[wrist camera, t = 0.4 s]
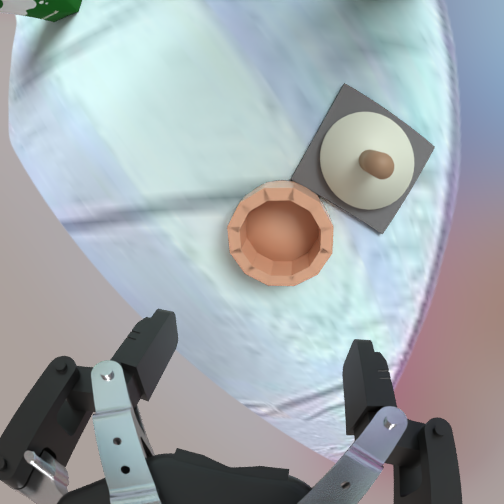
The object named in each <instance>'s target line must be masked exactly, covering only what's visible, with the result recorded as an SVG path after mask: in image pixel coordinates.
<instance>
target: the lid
mask: <svg viewBox="0 0 504 504" xmlns="http://www.w3.org/2000/svg"><path fill="white" fill-rule="evenodd" d="M320 165H321V170H322V173H323V176H324V178H325V180H326V182H327V184H328V186H329V187H330V189H331V190H332V191H333V193H334V194H335V195H336V196H337V197H338V198H340V199H341V200H342V201H344V202H345V203H347V204H349V205H351V206H353V207H356V208H360V209H368V210H370V209H379V208H383V207H386V206H388V205H390V204H392V203H393V202H395V201H396V200H397V199H399V198H400V197H401V196H402V195H403V194H404V192H405V191H406V189H407V188H408V186H409V184H410V182H411V179H412V176H413V172H414V154H413V150H412V146H411V144H410V141H409V139H408V137H407V136H406V134H405V133H404V131H403V130H402V129H401V128H400V127H399V126H398V125H397V124H396V123H395V122H394V121H392V120H391V119H389V118H388V117H386V116H383V115H381V114H378V113H374V112H356V113H353V114H349V115H347V116H345V117H343V118H341V119H340V120H338V121H337V122H336V123H335V124H333V125H332V127H331V128H330V129H329V130H328V132H327V133H326V135H325V137H324V139H323V142H322V145H321V151H320Z"/></svg>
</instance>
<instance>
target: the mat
mask: <svg viewBox="0 0 504 504" xmlns="http://www.w3.org/2000/svg"><path fill="white" fill-rule="evenodd" d="M356 112H374V113H378V114H381V115H383V116H386V117H388V118H389V119H391V120H392V121H394V122H395V123H396V124H397V125H398V126H399V127H400V128H401V129H402V130H403V131H404V133H405V134H406V136H407V137H408V139H409V141H410V144H411V146H412V150H413V154H414V172H413V176H412V179H411V182H410V184H409V186H408V188H407V189H406V191H405V192H404V194H403V195H402V196H401V197H400V198H399V199H397V200H396V201H395V202H393V203H392V204H390V205H388V206H386V207H383V208H379V209H370V210H368V209H360V208H356V207H353V206H351V205H349V204H347V203H345V202H344V201H342V200H341V199H340V198H338V197H337V196H336V195H335V194H334V193H333V191H332V190H331V189H330V187H329V186H328V184H327V182H326V180H325V178H324V176H323V173H322V170H321V165H320V151H321V145H322V142H323V139H324V137H325V135H326V133H327V132H328V130H329V129H330V128H331V127H332V125H333V124H335V123H336V122H337V121H338V120H340V119H341V118H343V117H345V116H347V115H349V114H353V113H356ZM434 148H435V147H434V146H433V145H432V144H431V143H430V142H428V141H427V140H426V139H425V138H424V137H422V136H421V135H420V134H419V133H417V132H416V131H415V130H414V129H412V128H411V127H410V126H408V125H407V124H406V123H404V122H403V121H402V120H400V119H399V118H398V117H396V116H395V115H393V114H392V113H391V112H389V111H388V110H386V109H385V108H383V107H382V106H380V105H379V104H377V103H376V102H374V101H373V100H371V99H370V98H368V97H367V96H365V95H363V94H362V93H360V92H359V91H357V90H355V89H354V88H352V87H350V86H349V85H347V84H345V83H344V85H343V86H342V88H341V90H340V92H339V94H338V95H337V97H336V99H335V101H334V103H333V104H332V106H331V108H330V110H329V112H328V113H327V115H326V117H325V119H324V121H323V122H322V124H321V126H320V128H319V130H318V131H317V133H316V135H315V137H314V139H313V140H312V142H311V144H310V146H309V147H308V149H307V151H306V153H305V155H304V156H303V158H302V160H301V162H300V164H299V165H298V167H297V169H296V171H295V173H294V174H293V176H292V178H291V180H293V181H295V182H297V183H299V184H300V185H302V186H304V187H306V188H308V189H309V190H311V191H313V192H315V193H316V194H318V195H320V196H322V197H323V198H325V199H327V200H328V201H330V202H332V203H333V204H335V205H337V206H338V207H340V208H342V209H343V210H345V211H347V212H348V213H350V214H352V215H353V216H355V217H356V218H358V219H360V220H361V221H363V222H364V223H366V224H368V225H369V226H371V227H372V228H374V229H375V230H377V231H378V232H380V233H381V234H383V233H384V231H385V230H386V228H387V227H388V225H389V224H390V222H391V221H392V219H393V218H394V216H395V215H396V213H397V211H398V210H399V208H400V207H401V205H402V203H403V202H404V200H405V199H406V197H407V195H408V194H409V192H410V190H411V189H412V187H413V185H414V184H415V182H416V180H417V178H418V177H419V175H420V173H421V171H422V170H423V168H424V166H425V164H426V163H427V161H428V159H429V157H430V155H431V153H432V152H433V150H434Z"/></svg>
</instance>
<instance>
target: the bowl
mask: <svg viewBox="0 0 504 504" xmlns="http://www.w3.org/2000/svg"><path fill="white" fill-rule="evenodd" d="M227 229H228V239H229V249H230V254H231V255H232V256H233V258H234V259H235V261H236V262H237V263H238V265H239V266H240V268H241V269H242V270H243V272H244V273H245V274H247V275H248V276H250V277H252V278H254V279H256V280H258V281H260V282H262V283H264V284H266V285H268V286H295V285H297V284H299V283H301V282H303V281H305V280H307V279H310V278H312V277H314V276H316V275H318V273H319V272H320V270H321V269H322V267H323V266H324V264H325V263H326V262H327V260H328V259H329V257H330V256H331V254H332V246H333V224H332V222H331V219H330V216H329V214H328V213H327V211H326V209H325V207H324V205H323V203H322V202H321V200H320V199H319V197H318V195H317V194H315V193H314V192H312V191H311V190H309V189H308V188H306V187H304V186H302V185H300V184H299V183H296V182H294V181H285V180H278V181H272V182H266V183H265V184H262V185H260V186H259V187H257V188H255V189H254V190H253V191H252V192H250V193H248V194H247V195H245V197H244V198H243V199H242V200H241V202H240V203H239V205H238V207H237V209H236V211H235V213H234V215H233V217H232V219H231V221H230V223H229V225H228V227H227Z"/></svg>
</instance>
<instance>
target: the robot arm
mask: <svg viewBox="0 0 504 504" xmlns="http://www.w3.org/2000/svg"><path fill="white" fill-rule="evenodd" d="M177 343H178V333H177V325H176V317H175V313H174V312H171V311H167V310H162V309H157V310H156V312H155V313H154V314H153V316H152V317H151V318H148V317H146V318H144V319H143V320H141V321H140V322H138V323H137V324H136V325H135V327H134V328H133V329H132V332H130V334H129V335H128V337H127V338H126V339H125V340H124V342H123V343H122V345H121V346H120V347H119V349H118V350H117V351H116V353H115V354H114V356H113V357H112V359H111V360H107V361H102V362H100V363H98V364H96V366H94V367H82V366H76V364H75V362H74V360H73V359H72V358H70V357H67V356H61V357H57V358H55V359H54V360H53V361H52V362H51V363H50V364H49V365H48V367H47V368H46V370H45V371H44V372H43V374H42V375H41V376H40V378H39V379H38V381H37V382H36V383H35V385H34V386H33V388H32V389H31V391H30V392H29V393H28V395H27V396H26V398H25V399H24V401H23V402H22V404H21V405H20V407H19V408H18V410H17V411H16V413H15V415H14V416H13V418H12V419H11V421H10V423H9V424H8V426H7V427H6V429H5V431H4V432H3V434H2V436H1V438H0V480H1V481H3V482H4V483H5V484H7V485H8V486H9V487H10V488H12V489H14V490H16V491H17V492H19V493H20V494H22V495H24V496H26V497H28V498H29V499H31V500H32V501H33V502H35V503H36V504H357V503H358V502H359V501H360V500H361V498H362V497H363V496H364V495H365V494H366V492H367V491H368V490H369V488H370V487H371V485H372V484H373V483H374V482H375V480H376V479H377V478H378V476H379V475H380V473H381V472H382V470H383V468H384V467H383V464H384V463H387V464H392V465H393V466H394V504H462V493H461V483H460V474H459V466H458V460H457V454H456V448H455V443H454V438H453V432H452V428H451V426H450V424H449V423H448V422H447V421H446V420H444V419H442V418H433V419H431V420H429V421H428V422H427V423H426V424H424V423H420V422H415V421H411V420H409V419H407V417H406V415H405V414H404V412H403V411H402V410H400V409H399V408H397V405H396V400H395V395H394V391H393V386H392V382H391V379H390V373H389V372H388V371H389V369H388V365H387V361H386V360H385V358H384V357H383V356H382V354H381V353H380V352H374V349H373V345H372V342H371V340H359V339H355V340H354V341H353V343H352V345H351V348H350V350H349V353H348V355H347V357H346V360H345V362H344V366H343V387H344V400H345V416H346V435H354V436H355V442H354V443H353V444H352V445H351V446H350V448H349V449H348V450H347V451H346V452H345V454H344V455H343V456H342V457H341V458H340V459H339V460H338V462H337V463H336V464H335V465H334V466H333V467H332V468H331V469H330V470H329V471H328V472H327V473H326V475H325V476H324V477H323V478H322V479H321V480H320V481H319V482H318V483H317V484H316V485H315V486H314V487H313V488H311V487H310V486H309V485H307V484H306V483H305V482H303V481H301V480H299V479H298V478H295V477H293V476H290V475H288V474H289V469H281V468H272V467H264V466H256V467H238V468H237V467H236V468H231V467H228V466H225V465H223V464H221V463H219V462H216V461H214V460H212V459H210V458H208V457H206V456H204V455H201V454H196V453H193V452H189V451H186V450H182V449H178V448H177V449H176V452H175V454H172V453H170V454H159V455H155V454H154V452H153V449H152V447H151V445H150V443H149V440H148V438H147V435H146V431H145V429H144V425H143V423H142V419H141V415H140V412H139V409H138V406H137V404H138V402H139V400H140V398H141V399H143V400H146V401H149V399H150V397H151V395H152V393H153V391H154V389H155V388H156V386H157V384H158V382H159V380H160V378H161V376H162V374H163V372H164V370H165V368H166V366H167V364H168V362H169V361H170V359H171V357H172V355H173V353H174V351H175V349H176V347H177ZM93 412H96V414H93V424H94V430H95V435H96V440H97V445H98V450H99V454H100V459H101V463H102V467H103V471H104V474H105V478H104V479H101V480H99V481H96V482H94V483H92V484H89V485H86V486H84V487H82V488H78V489H76V490H73V491H70V492H68V490H67V486H68V485H69V480H68V478H69V477H68V472H67V470H66V468H65V467H66V465H67V463H68V461H69V459H70V456H71V454H72V452H73V450H74V448H75V446H76V444H77V442H78V440H79V438H80V436H81V434H82V432H83V430H84V428H85V427H86V425H87V423H88V421H89V419H90V417H91V415H92V413H93Z"/></svg>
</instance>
